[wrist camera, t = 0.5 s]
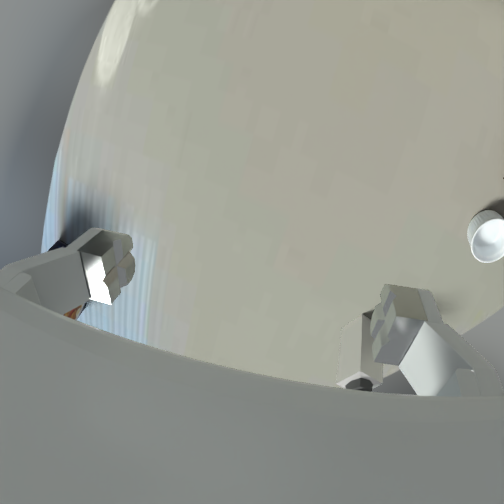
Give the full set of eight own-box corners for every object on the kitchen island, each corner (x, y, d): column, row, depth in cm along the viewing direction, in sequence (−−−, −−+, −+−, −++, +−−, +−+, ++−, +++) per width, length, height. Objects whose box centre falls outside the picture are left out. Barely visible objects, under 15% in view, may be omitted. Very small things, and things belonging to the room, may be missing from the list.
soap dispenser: (367, 345, 68) (363, 431, 50) (341, 328, 66) (331, 417, 49) (388, 332, 64) (389, 421, 46) (361, 313, 62) (357, 407, 45)
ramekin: (504, 243, 44) (512, 257, 41) (465, 253, 48) (471, 268, 45) (503, 201, 40) (513, 213, 37) (462, 212, 44) (470, 225, 41)
